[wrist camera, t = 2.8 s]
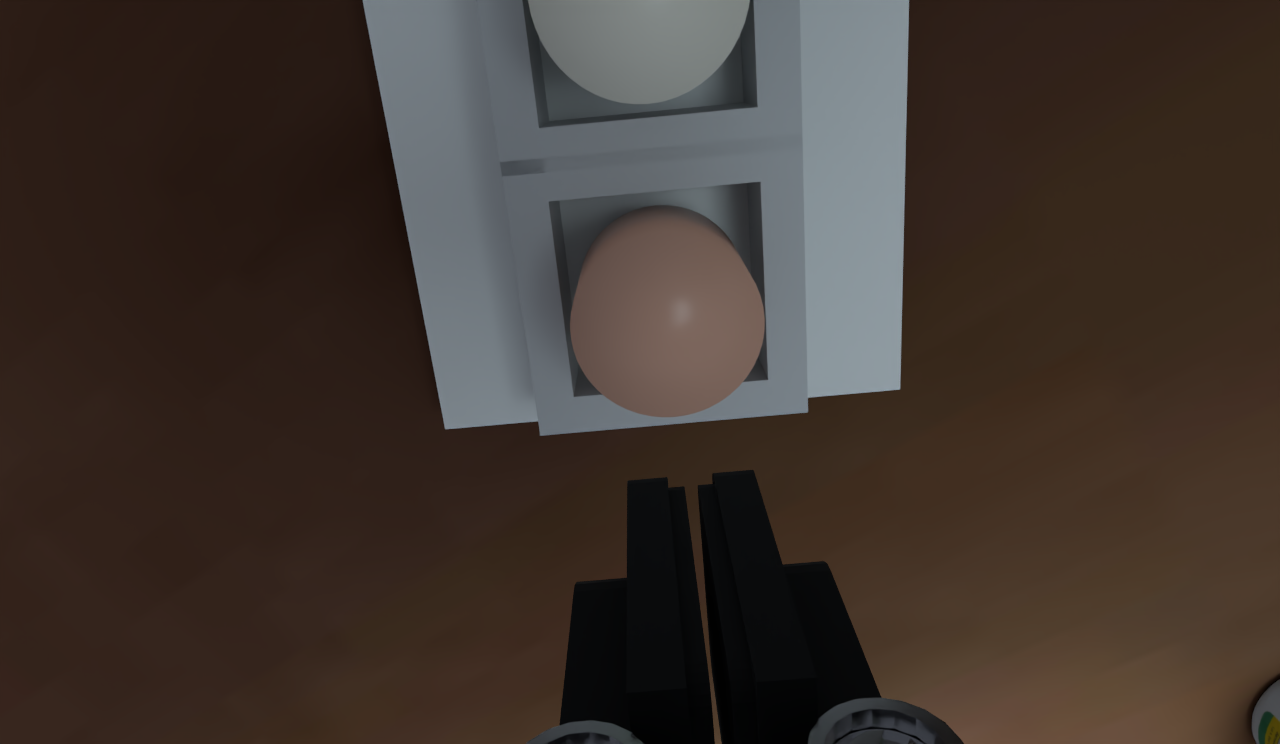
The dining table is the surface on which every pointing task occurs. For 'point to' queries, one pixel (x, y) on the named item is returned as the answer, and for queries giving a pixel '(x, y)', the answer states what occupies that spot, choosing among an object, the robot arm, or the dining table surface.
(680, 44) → the cream button
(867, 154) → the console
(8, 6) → the dining table surface
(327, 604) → the dining table surface
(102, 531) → the dining table surface
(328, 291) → the dining table surface
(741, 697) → the robot arm
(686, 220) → the brown rounded dome
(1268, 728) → the supplement bottle
